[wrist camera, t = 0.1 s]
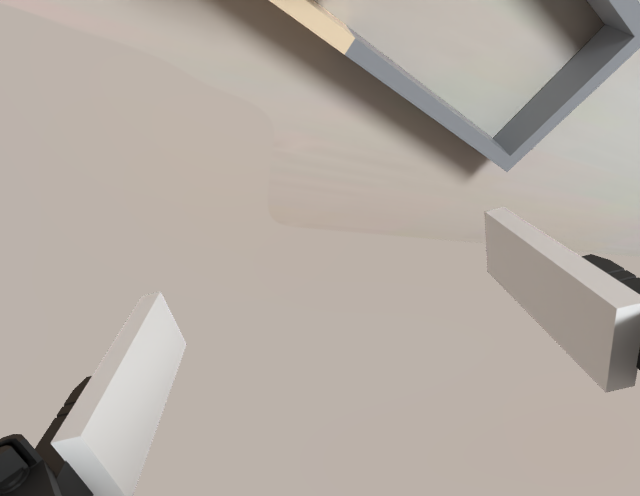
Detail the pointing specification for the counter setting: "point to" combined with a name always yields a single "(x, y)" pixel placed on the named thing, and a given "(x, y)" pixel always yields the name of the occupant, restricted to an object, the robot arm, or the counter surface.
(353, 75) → the counter surface
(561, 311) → the robot arm
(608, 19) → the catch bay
